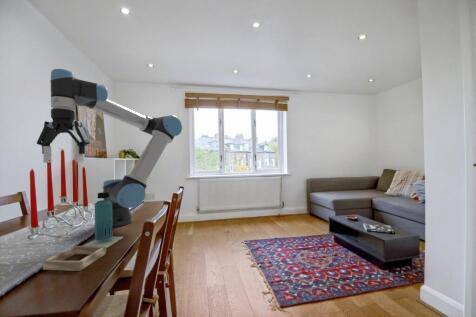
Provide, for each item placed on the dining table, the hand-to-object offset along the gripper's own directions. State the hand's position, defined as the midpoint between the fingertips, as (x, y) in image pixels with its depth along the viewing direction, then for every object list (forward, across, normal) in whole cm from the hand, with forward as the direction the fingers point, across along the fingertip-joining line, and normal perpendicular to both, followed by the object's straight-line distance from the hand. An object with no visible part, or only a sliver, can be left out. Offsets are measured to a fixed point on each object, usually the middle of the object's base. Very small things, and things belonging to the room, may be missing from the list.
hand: (63, 162), depth 88 cm
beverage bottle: (+32, +15, +2) cm, 36 cm away
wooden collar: (+33, +17, -14) cm, 39 cm away
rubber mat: (+33, +15, +2) cm, 36 cm away
